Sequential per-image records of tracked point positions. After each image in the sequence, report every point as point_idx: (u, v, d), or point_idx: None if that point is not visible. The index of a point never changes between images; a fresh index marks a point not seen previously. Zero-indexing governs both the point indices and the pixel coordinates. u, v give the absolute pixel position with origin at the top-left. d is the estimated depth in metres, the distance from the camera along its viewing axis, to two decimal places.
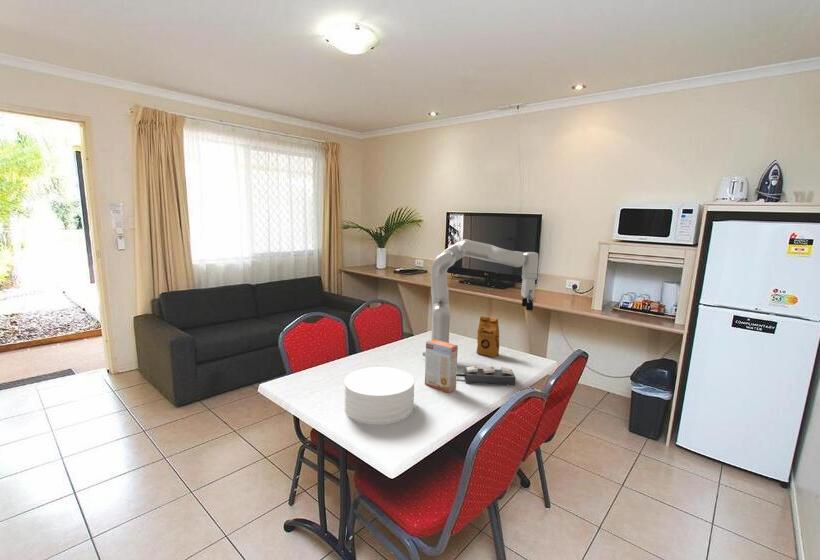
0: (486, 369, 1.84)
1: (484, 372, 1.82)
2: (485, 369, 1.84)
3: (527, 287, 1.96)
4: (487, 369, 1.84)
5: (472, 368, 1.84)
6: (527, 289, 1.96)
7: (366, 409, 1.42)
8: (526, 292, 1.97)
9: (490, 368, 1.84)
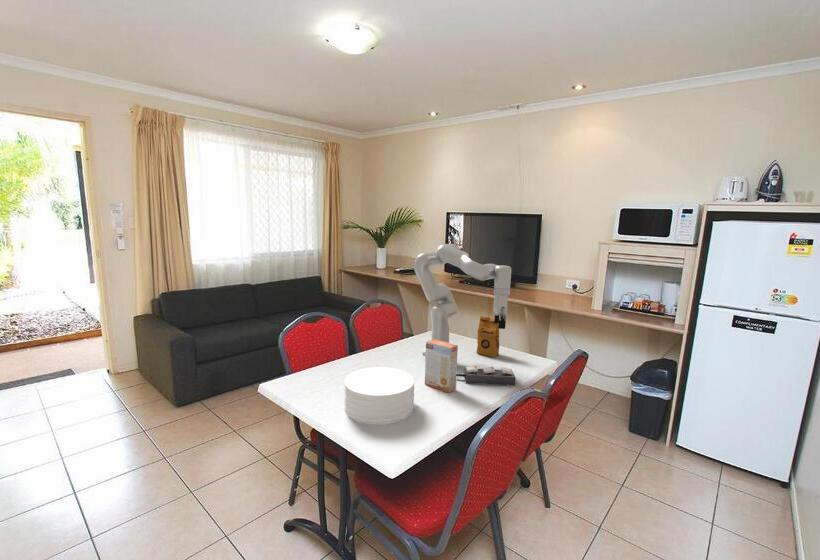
0: (486, 369, 1.84)
1: (484, 372, 1.82)
2: (485, 369, 1.84)
3: (499, 304, 1.81)
4: (487, 369, 1.84)
5: (472, 368, 1.84)
6: (499, 306, 1.81)
7: (366, 409, 1.42)
8: (498, 309, 1.81)
9: (490, 368, 1.84)
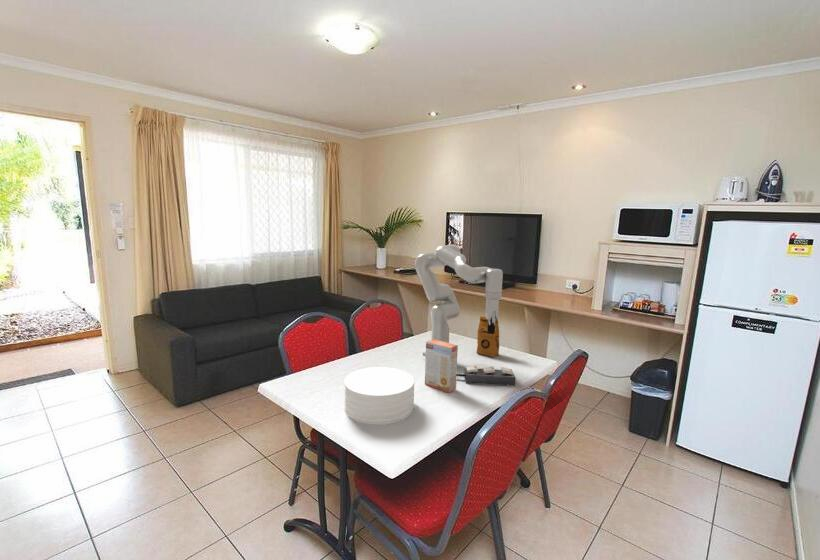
0: (486, 369, 1.84)
1: (484, 372, 1.82)
2: (485, 369, 1.84)
3: (490, 308, 1.77)
4: (487, 369, 1.84)
5: (472, 368, 1.84)
6: (490, 310, 1.77)
7: (366, 409, 1.42)
8: (489, 313, 1.77)
9: (490, 368, 1.84)
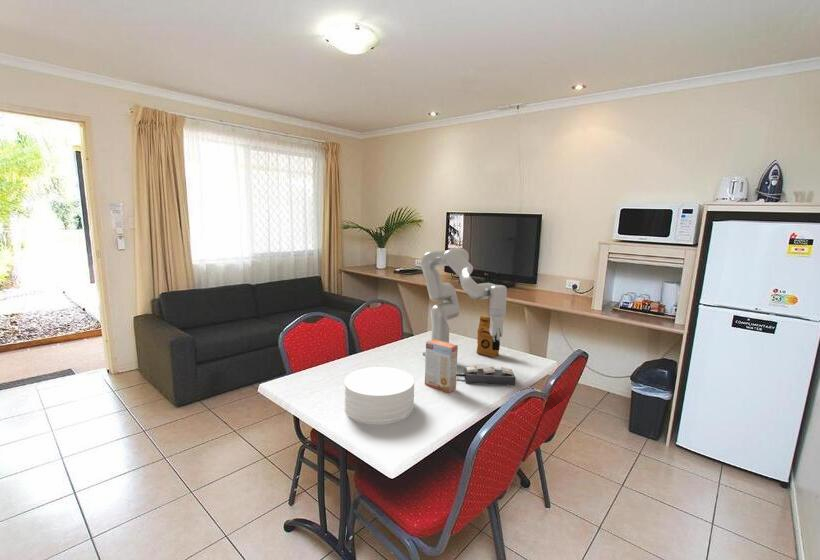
0: (486, 369, 1.84)
1: (484, 372, 1.82)
2: (485, 369, 1.84)
3: (494, 325, 1.76)
4: (487, 369, 1.84)
5: (472, 368, 1.84)
6: (494, 327, 1.76)
7: (366, 409, 1.42)
8: (493, 330, 1.76)
9: (490, 368, 1.84)
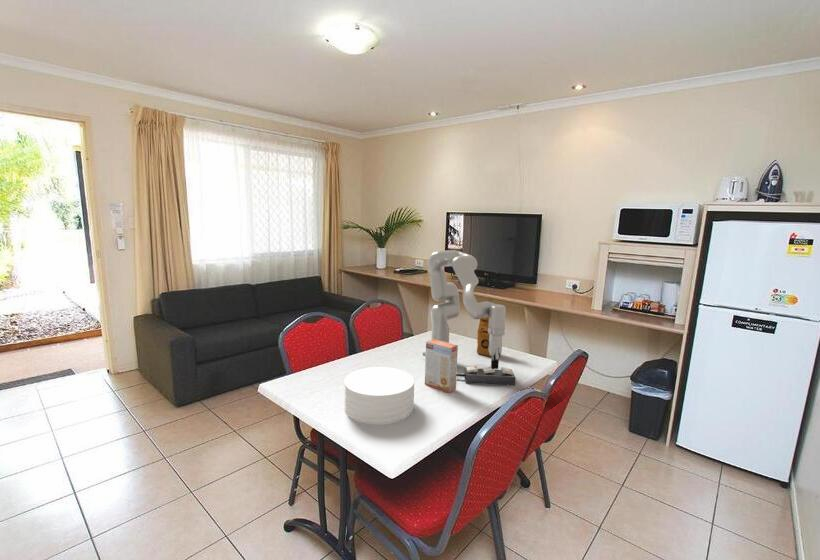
0: (486, 369, 1.84)
1: (484, 372, 1.82)
2: (485, 369, 1.84)
3: (493, 344, 1.77)
4: (487, 369, 1.84)
5: (472, 368, 1.84)
6: (493, 347, 1.77)
7: (366, 409, 1.42)
8: (492, 350, 1.78)
9: (490, 368, 1.84)
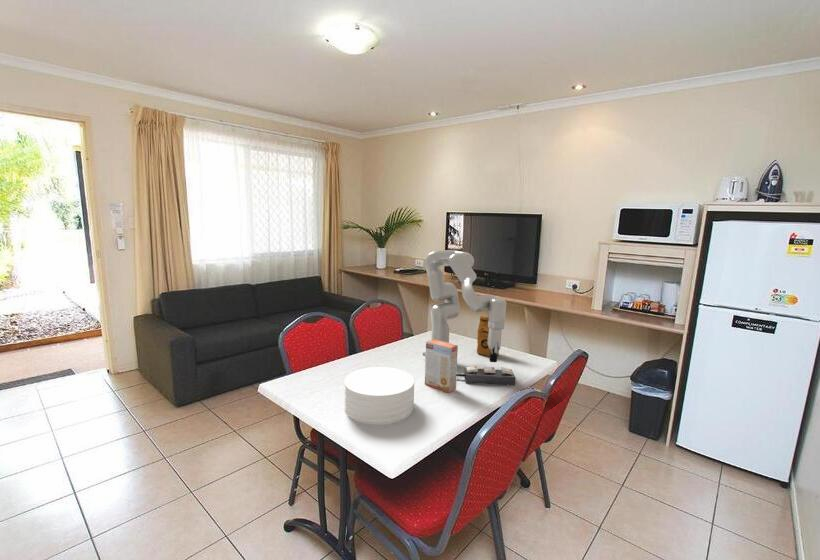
0: (487, 369, 1.84)
1: (484, 371, 1.82)
2: (486, 368, 1.84)
3: (493, 338, 1.77)
4: (488, 369, 1.83)
5: (472, 368, 1.84)
6: (493, 340, 1.77)
7: (366, 409, 1.42)
8: (491, 343, 1.78)
9: (491, 368, 1.84)
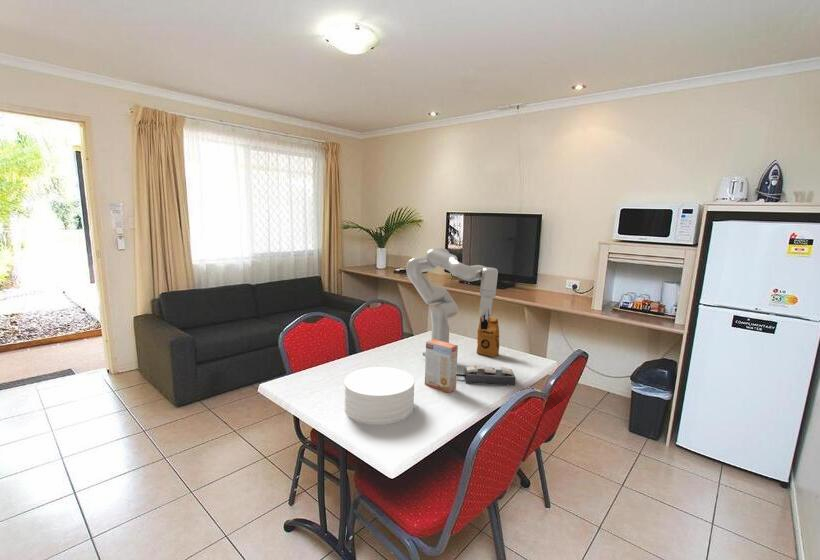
0: (487, 368, 1.84)
1: (485, 371, 1.82)
2: (486, 368, 1.84)
3: (483, 305, 1.84)
4: (488, 369, 1.83)
5: (472, 368, 1.84)
6: (483, 307, 1.84)
7: (366, 409, 1.42)
8: (482, 310, 1.85)
9: (491, 368, 1.84)
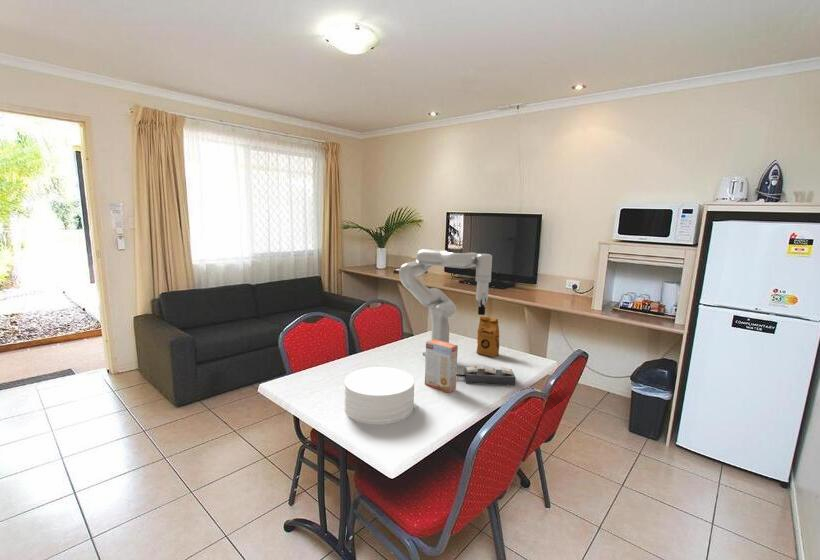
0: (488, 368, 1.84)
1: (485, 370, 1.82)
2: (487, 368, 1.84)
3: (480, 290, 1.88)
4: (489, 369, 1.83)
5: (472, 368, 1.84)
6: (480, 292, 1.88)
7: (366, 409, 1.42)
8: (479, 295, 1.89)
9: (492, 369, 1.84)
